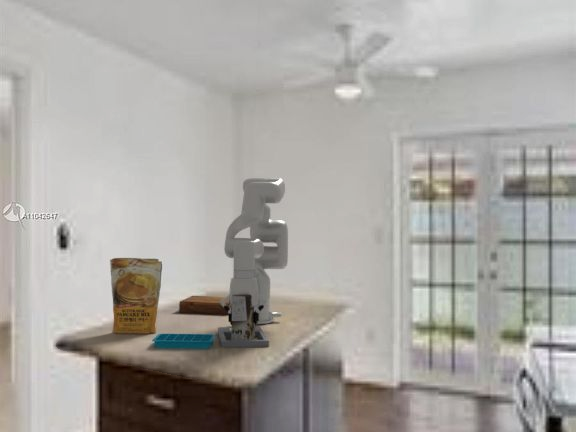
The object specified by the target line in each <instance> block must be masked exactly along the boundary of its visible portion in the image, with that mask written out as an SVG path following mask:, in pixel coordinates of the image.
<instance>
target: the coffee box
mask: <svg viewBox="0 0 576 432" xmlns="http://www.w3.org/2000/svg"><path fill="white" fill-rule="evenodd" d="M254 312H255V309H254V307H252V296H251V295H233V296H232V325H231V327H232V335H231V337H230V338H231V340H230V341H234V340H254V338H256V337H255V327H256V326H255V325H256V324H255V323H254Z"/></svg>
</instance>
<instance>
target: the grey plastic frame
mask: <svg viewBox="0 0 576 432" xmlns="http://www.w3.org/2000/svg"><path fill="white" fill-rule="evenodd" d="M217 335H218V338H219V341H220V342H219V343H220V345H221V348H222V349H224V348H254V347H255V348H257V347H258V348H261V347H270V340H269V338H268V336H267V335H266V334H265V332H264V331H263V329H262V327H261V326H255V337H254V338H259V339H251V340H234V341H231V340H227V338H228V339H229V338H231V335H232V326H224V327H223V326H222V327H221V326H218V327H217Z"/></svg>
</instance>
